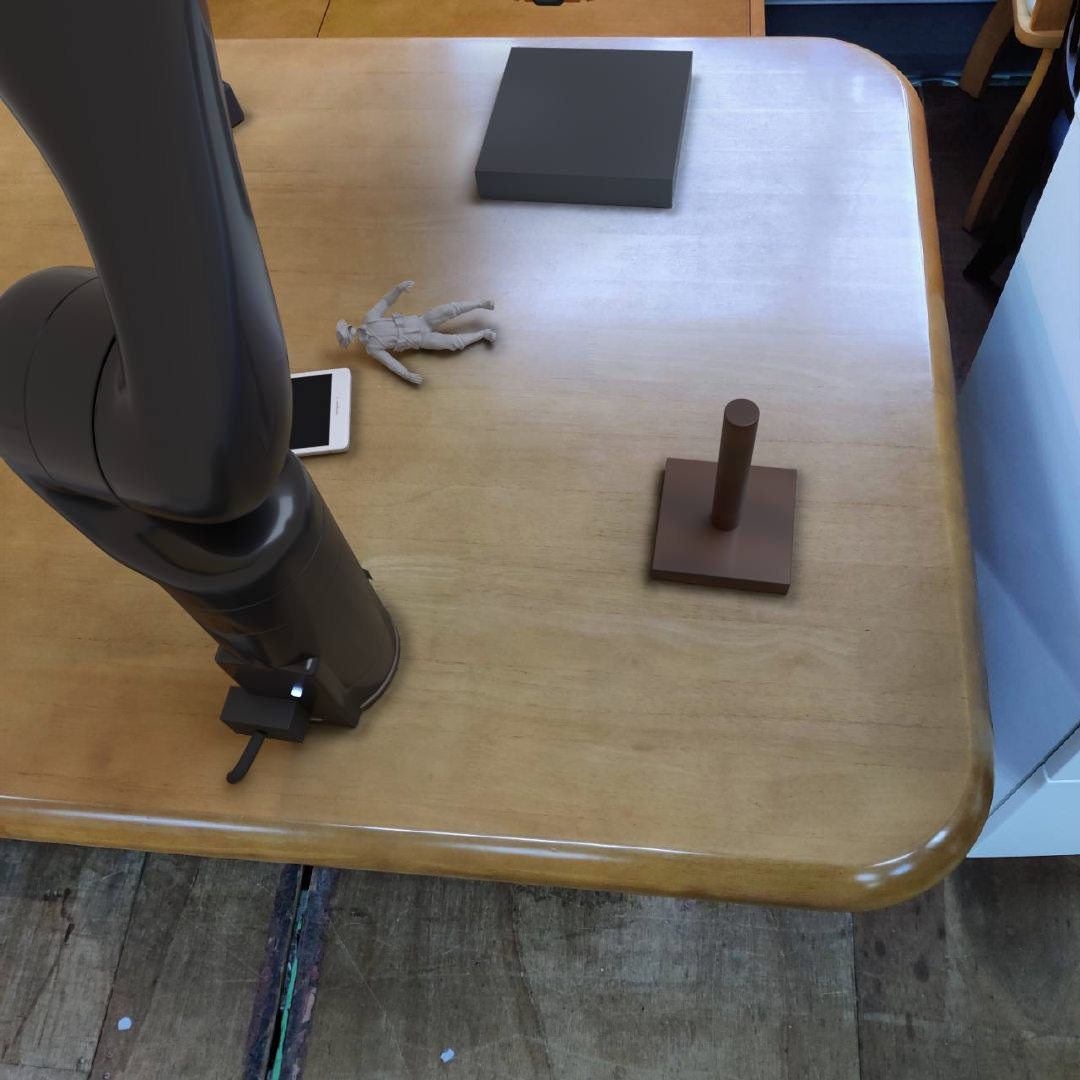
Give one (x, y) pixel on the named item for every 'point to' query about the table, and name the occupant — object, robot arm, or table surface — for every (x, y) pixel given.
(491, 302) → the soldier figure
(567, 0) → the ring
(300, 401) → the cell phone
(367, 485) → the table surface
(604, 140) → the stand
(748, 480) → the post
